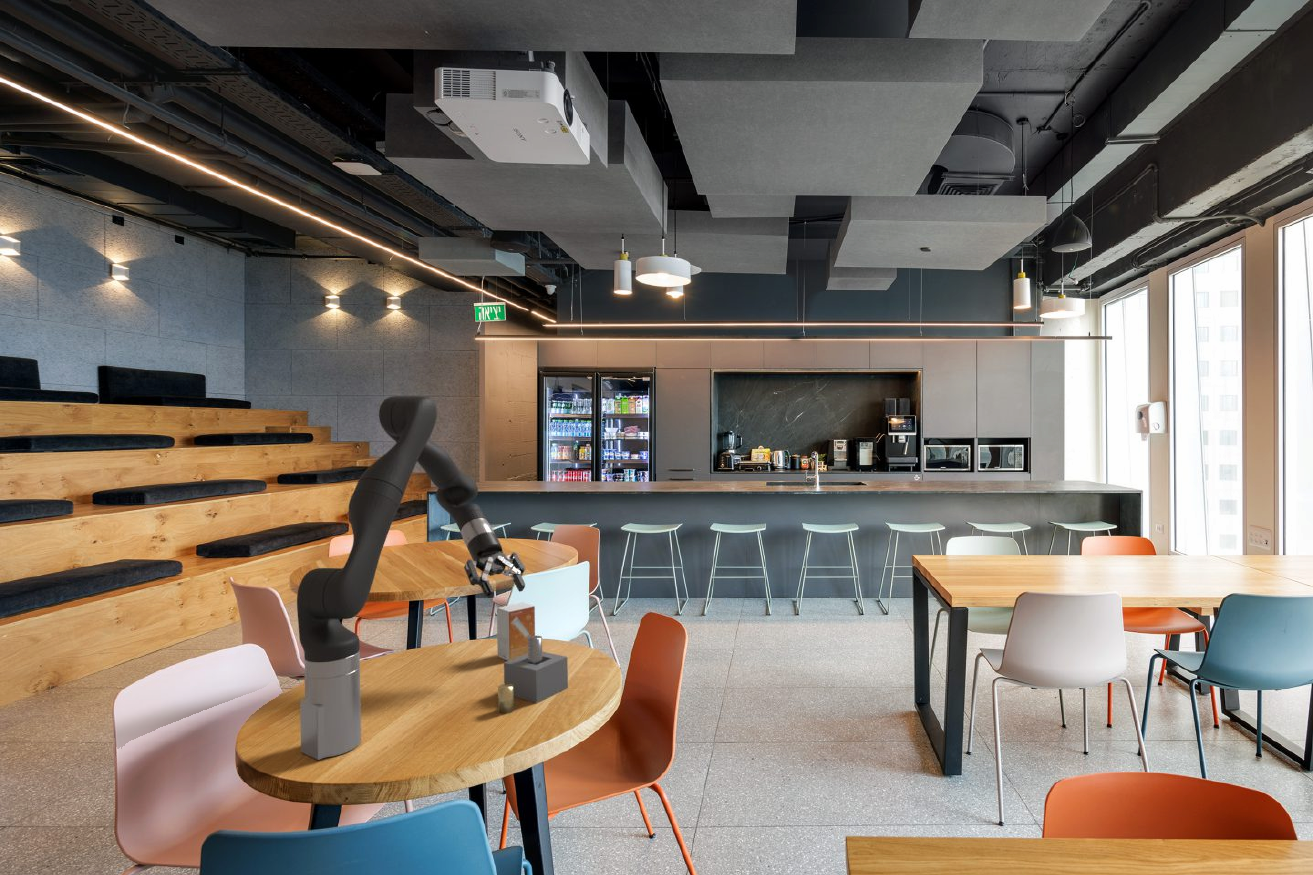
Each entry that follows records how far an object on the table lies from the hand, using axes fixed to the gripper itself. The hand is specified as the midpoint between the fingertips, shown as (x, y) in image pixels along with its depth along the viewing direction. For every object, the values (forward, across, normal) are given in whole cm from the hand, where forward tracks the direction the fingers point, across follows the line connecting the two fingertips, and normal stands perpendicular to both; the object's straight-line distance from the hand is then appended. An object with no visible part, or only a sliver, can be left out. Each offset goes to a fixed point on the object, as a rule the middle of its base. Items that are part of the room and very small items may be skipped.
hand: (507, 592), depth 150 cm
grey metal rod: (+22, 0, +7) cm, 23 cm away
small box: (+6, +11, +24) cm, 27 cm away
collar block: (+22, 0, +7) cm, 23 cm away
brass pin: (+25, -10, +4) cm, 28 cm away
